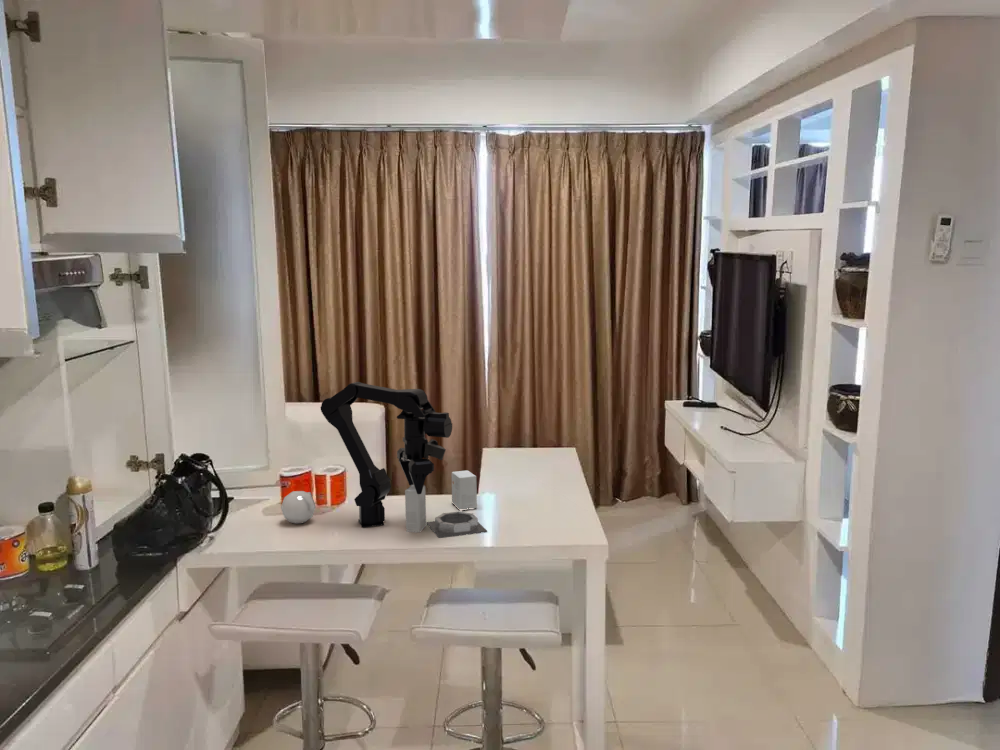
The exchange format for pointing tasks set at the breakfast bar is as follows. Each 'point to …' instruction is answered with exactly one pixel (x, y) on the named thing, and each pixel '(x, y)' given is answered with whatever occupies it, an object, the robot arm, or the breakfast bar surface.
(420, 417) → the robot arm
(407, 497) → the skincare box
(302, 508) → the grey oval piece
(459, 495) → the small box
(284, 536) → the breakfast bar surface
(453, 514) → the grey octagonal ring base
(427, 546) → the breakfast bar surface
